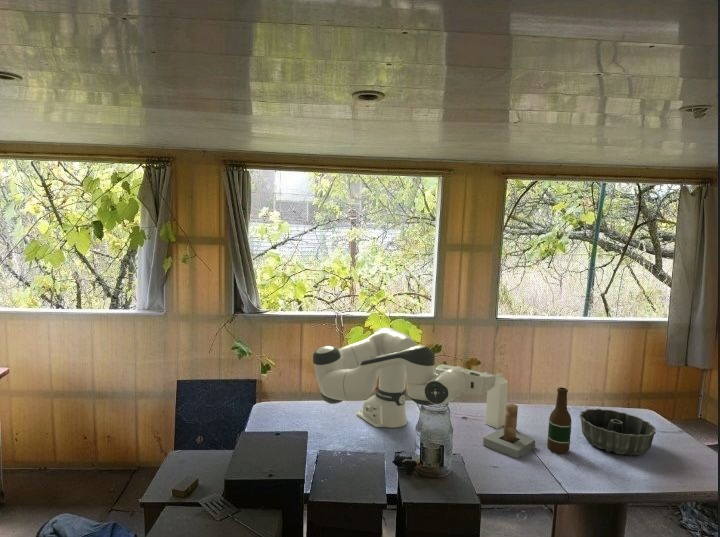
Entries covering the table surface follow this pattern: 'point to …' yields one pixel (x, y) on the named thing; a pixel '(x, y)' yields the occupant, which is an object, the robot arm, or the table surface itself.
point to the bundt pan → (617, 431)
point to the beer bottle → (559, 425)
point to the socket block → (515, 449)
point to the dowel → (510, 423)
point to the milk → (497, 403)
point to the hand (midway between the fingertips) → (472, 371)
